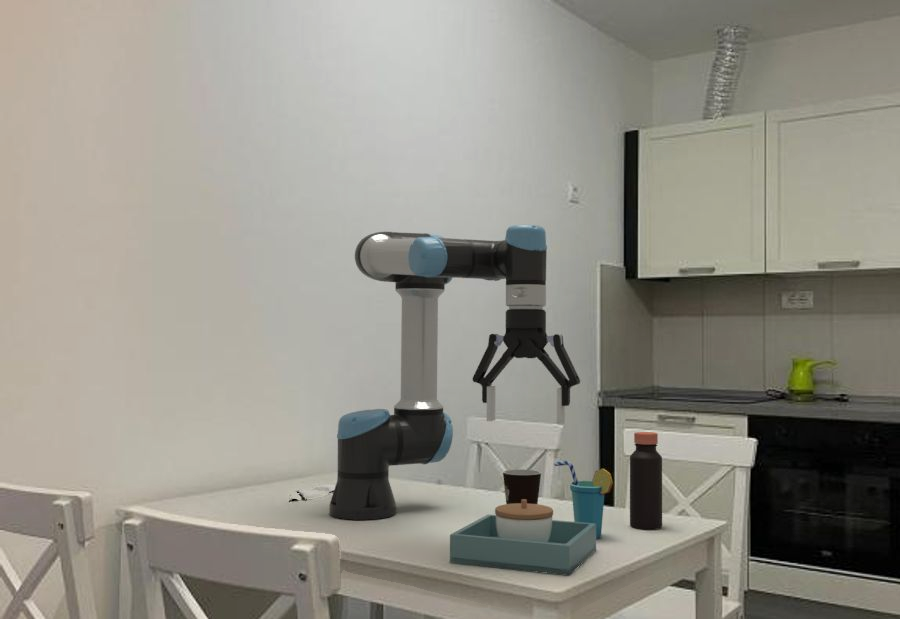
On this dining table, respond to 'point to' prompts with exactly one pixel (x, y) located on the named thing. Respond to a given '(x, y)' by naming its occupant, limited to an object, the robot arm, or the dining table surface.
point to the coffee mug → (521, 485)
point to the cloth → (313, 494)
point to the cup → (589, 496)
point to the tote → (524, 547)
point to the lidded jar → (524, 521)
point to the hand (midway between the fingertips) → (525, 422)
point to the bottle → (646, 483)
